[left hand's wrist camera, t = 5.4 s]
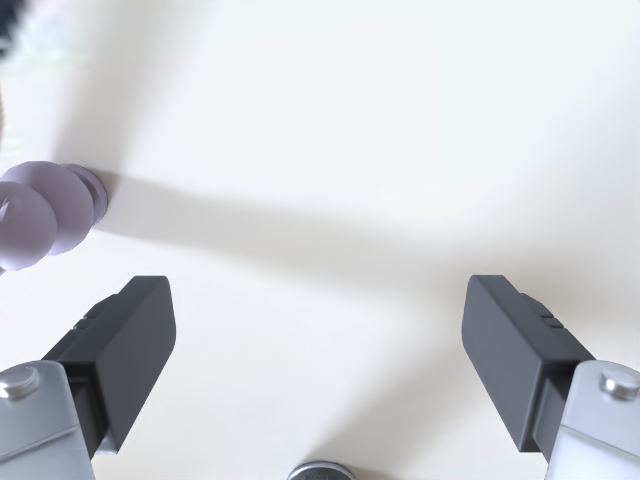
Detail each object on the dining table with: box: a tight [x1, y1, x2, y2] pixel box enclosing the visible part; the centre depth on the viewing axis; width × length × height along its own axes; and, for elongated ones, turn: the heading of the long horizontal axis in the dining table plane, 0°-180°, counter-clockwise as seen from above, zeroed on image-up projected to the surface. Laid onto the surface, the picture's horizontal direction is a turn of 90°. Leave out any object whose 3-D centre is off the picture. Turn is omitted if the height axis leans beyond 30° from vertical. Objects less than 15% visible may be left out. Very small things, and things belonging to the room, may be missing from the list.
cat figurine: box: [0, 161, 108, 275], centre depth 34 cm, size 8×8×12 cm
